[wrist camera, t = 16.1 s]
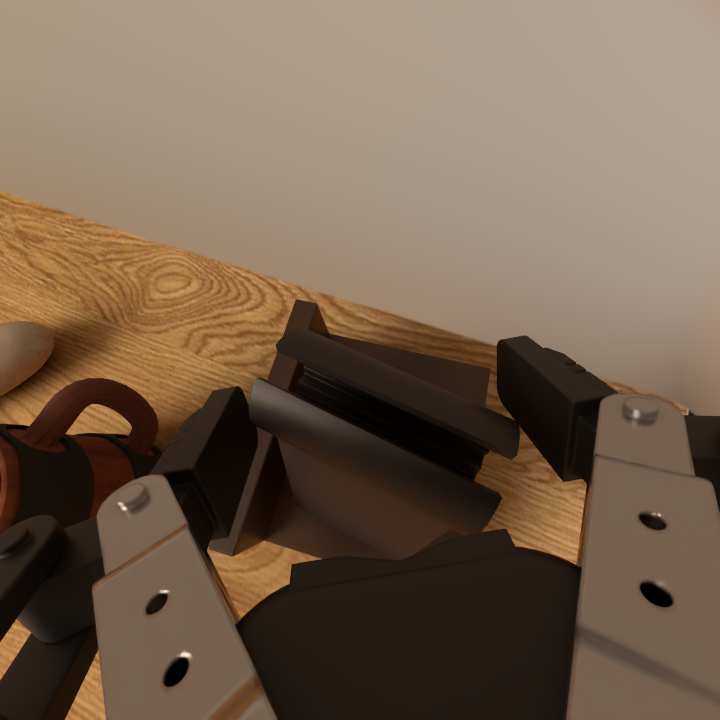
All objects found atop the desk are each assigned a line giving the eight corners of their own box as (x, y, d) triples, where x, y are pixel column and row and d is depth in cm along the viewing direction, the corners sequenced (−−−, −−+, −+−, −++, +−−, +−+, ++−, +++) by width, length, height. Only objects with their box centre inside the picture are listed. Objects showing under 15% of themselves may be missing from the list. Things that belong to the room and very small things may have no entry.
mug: (233, 437, 26) (120, 407, 15) (124, 594, 23) (-114, 699, 12) (151, 381, 28) (-2, 318, 17) (42, 519, 25) (-229, 552, 14)
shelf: (468, 392, 26) (514, 343, 16) (437, 570, 22) (474, 638, 13) (327, 360, 27) (295, 298, 18) (278, 520, 24) (206, 549, 14)
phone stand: (370, 359, 21) (350, 218, 9) (466, 402, 20) (574, 299, 8) (296, 503, 19) (153, 545, 7) (399, 562, 17) (422, 725, 6)
